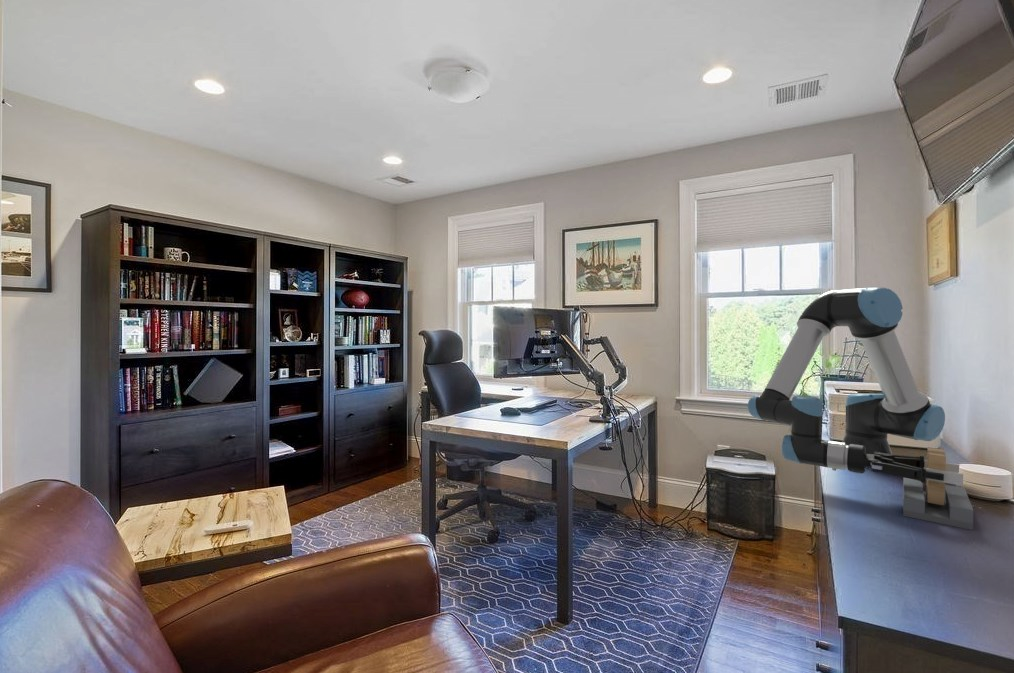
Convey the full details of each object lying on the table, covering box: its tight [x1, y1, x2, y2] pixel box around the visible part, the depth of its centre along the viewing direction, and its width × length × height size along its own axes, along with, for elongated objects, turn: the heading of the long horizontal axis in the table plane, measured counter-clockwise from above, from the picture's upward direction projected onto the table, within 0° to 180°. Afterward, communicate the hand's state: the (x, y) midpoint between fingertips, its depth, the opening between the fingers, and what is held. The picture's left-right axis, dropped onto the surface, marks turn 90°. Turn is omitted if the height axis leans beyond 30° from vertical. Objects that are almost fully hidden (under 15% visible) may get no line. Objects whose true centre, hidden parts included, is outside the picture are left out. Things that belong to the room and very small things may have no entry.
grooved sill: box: [902, 478, 974, 531], centre depth 117 cm, size 20×12×4 cm, turn 140°
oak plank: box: [925, 446, 947, 505], centre depth 116 cm, size 9×3×12 cm, turn 140°
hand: (960, 474), depth 114 cm, fingers open, 9 cm apart
